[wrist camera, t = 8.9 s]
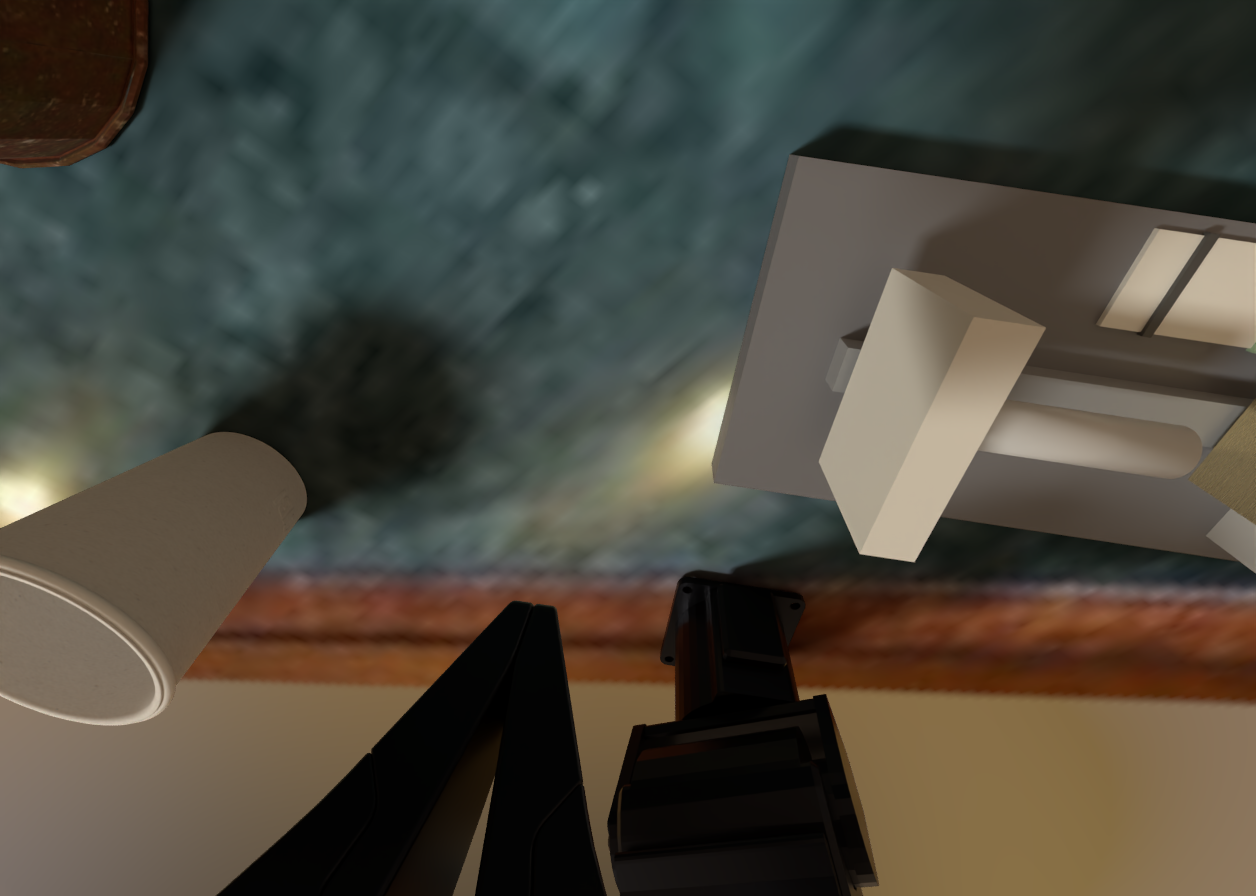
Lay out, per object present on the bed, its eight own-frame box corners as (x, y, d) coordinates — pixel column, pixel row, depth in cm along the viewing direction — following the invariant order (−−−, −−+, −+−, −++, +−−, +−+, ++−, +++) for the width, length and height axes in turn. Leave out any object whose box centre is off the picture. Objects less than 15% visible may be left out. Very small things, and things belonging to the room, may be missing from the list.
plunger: (1053, 496, 19) (1161, 599, 15) (818, 461, 19) (859, 553, 15) (1182, 310, 16) (1372, 376, 11) (892, 267, 16) (973, 317, 11)
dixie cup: (317, 420, 23) (111, 583, 15) (345, 557, 28) (198, 744, 19) (135, 392, 23) (-177, 538, 15) (191, 533, 28) (-25, 709, 19)
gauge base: (1249, 544, 23) (1517, 733, 16) (711, 463, 23) (728, 614, 16) (1528, 264, 17) (2188, 361, 9) (789, 154, 17) (877, 167, 9)
